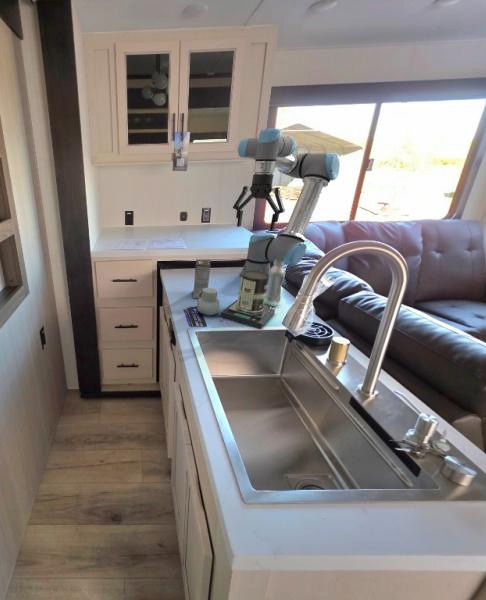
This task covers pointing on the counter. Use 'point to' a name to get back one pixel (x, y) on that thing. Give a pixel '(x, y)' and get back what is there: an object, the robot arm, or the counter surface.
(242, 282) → the coffee can
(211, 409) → the counter surface
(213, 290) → the air freshener
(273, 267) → the plastic bottle
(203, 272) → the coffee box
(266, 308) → the scale pan
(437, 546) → the counter surface
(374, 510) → the counter surface
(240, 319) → the scale
